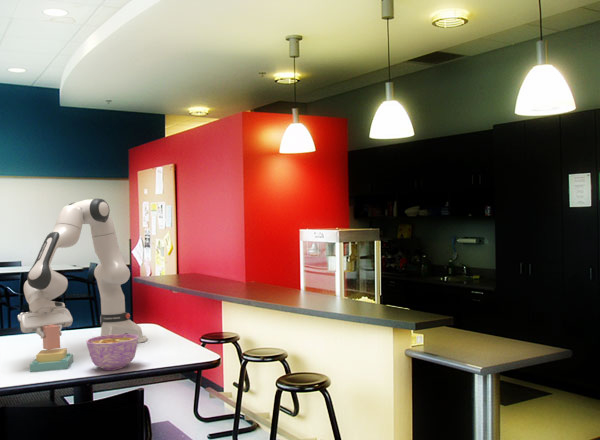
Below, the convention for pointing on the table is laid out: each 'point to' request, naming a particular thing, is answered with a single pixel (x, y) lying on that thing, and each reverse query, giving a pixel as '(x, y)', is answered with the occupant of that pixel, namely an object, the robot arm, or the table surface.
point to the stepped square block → (51, 360)
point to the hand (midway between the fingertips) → (51, 336)
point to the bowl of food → (112, 350)
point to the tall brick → (51, 337)
